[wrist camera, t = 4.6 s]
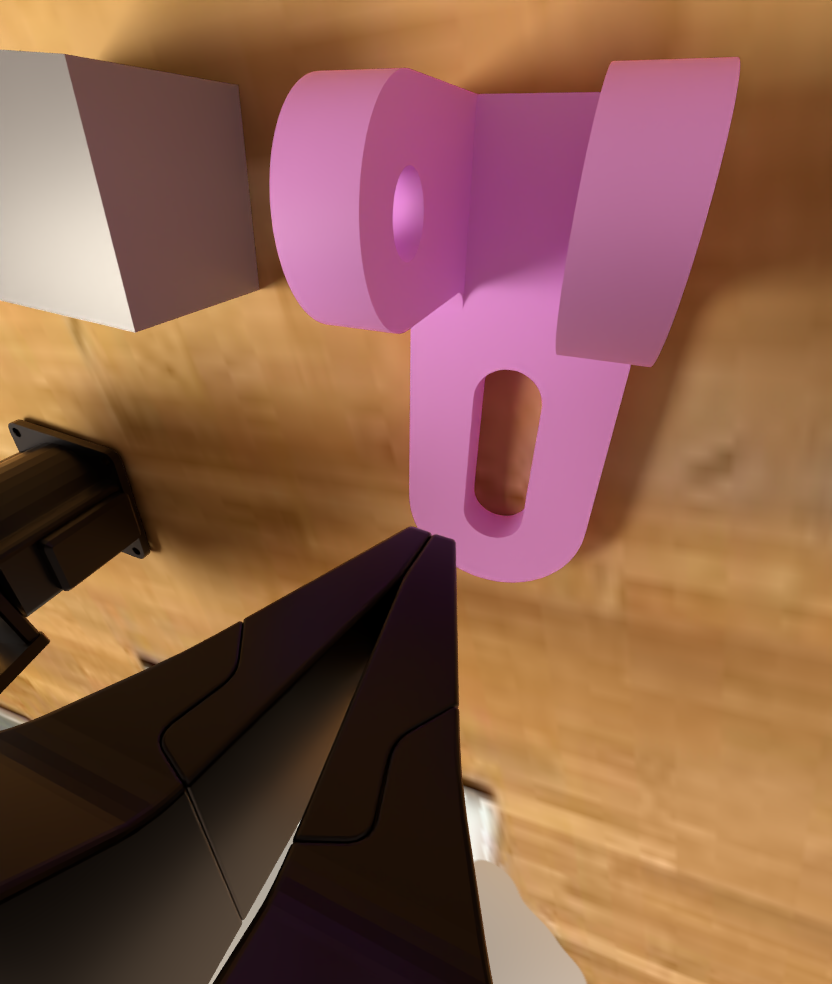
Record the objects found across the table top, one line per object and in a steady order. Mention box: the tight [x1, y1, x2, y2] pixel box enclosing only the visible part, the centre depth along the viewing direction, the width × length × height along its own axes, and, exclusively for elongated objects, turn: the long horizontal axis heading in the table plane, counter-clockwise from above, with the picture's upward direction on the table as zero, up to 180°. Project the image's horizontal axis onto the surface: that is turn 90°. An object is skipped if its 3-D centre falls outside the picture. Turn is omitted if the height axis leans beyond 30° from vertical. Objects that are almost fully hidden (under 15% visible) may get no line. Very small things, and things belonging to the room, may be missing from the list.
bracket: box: [269, 57, 740, 582], centre depth 12 cm, size 13×6×7 cm, turn 179°
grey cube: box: [0, 50, 259, 332], centre depth 13 cm, size 5×5×5 cm
